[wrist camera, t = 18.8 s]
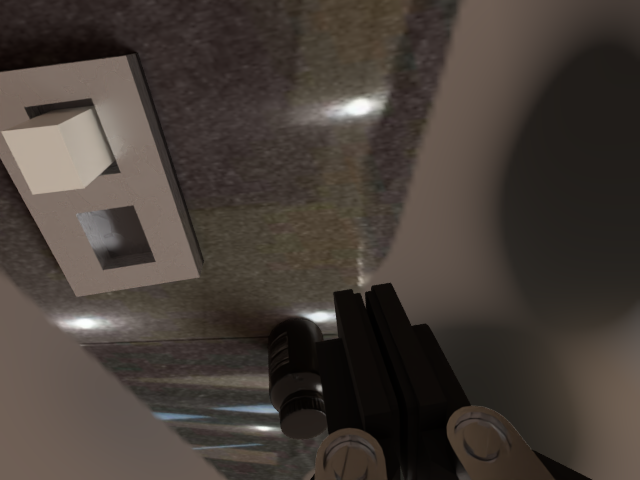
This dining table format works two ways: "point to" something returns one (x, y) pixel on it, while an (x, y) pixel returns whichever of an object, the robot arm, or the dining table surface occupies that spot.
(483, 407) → the robot arm
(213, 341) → the dining table surface
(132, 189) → the socket board
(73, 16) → the dining table surface
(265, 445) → the dining table surface
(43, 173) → the plug
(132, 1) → the dining table surface
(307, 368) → the supplement bottle
